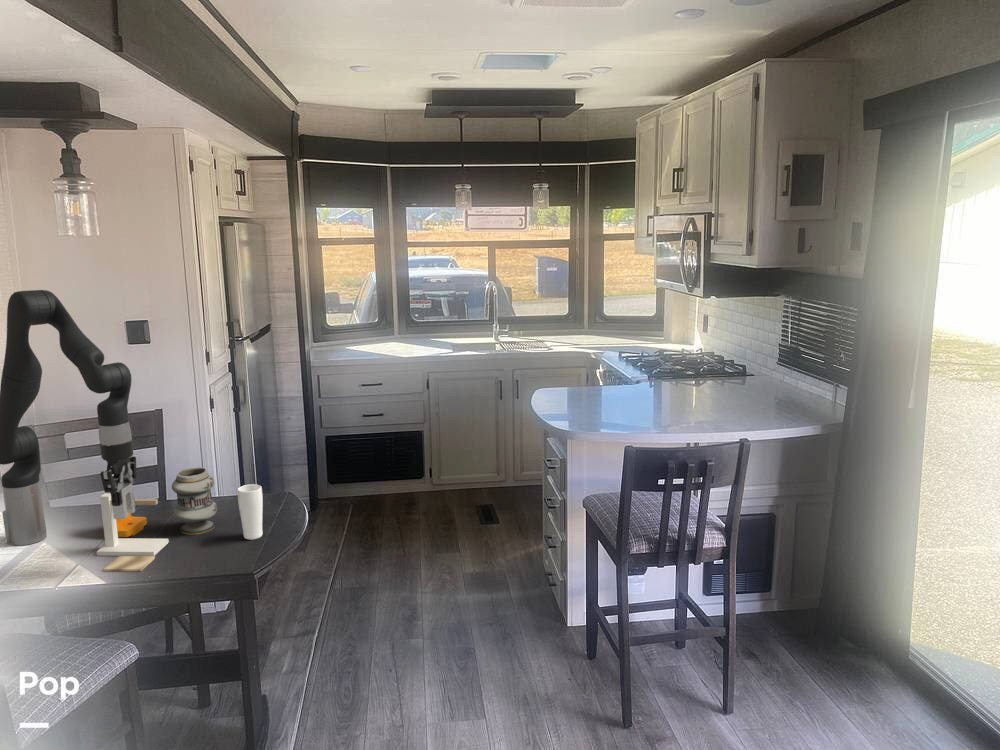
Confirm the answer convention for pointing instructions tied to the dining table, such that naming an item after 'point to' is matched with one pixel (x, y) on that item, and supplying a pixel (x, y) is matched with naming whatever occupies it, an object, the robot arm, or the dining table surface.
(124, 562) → the cork mat
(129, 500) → the c link
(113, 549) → the stand
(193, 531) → the apothecary jar
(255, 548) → the dining table surface
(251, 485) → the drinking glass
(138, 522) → the bracket
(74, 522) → the dining table surface
